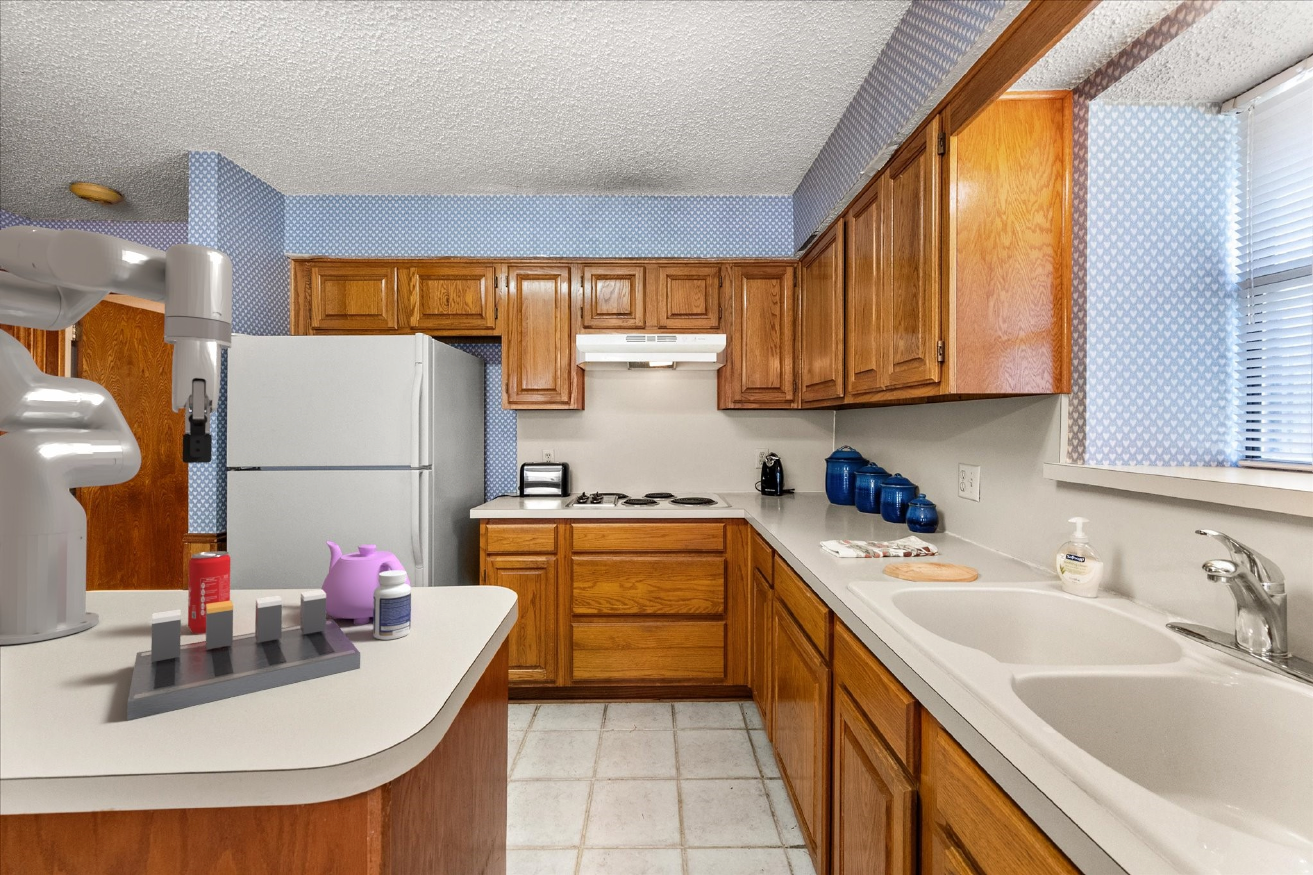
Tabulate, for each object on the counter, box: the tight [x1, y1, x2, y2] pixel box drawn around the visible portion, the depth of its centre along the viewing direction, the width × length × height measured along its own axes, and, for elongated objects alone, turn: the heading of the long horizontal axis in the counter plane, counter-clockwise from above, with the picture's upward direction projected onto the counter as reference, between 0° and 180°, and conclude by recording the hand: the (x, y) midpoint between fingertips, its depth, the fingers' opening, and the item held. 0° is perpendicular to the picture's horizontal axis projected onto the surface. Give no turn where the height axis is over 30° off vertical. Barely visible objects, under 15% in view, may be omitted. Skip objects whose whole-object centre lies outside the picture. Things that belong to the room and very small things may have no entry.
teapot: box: [320, 540, 412, 626], centre depth 100 cm, size 20×14×12 cm
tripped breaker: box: [205, 599, 234, 649], centre depth 78 cm, size 3×3×5 cm
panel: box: [126, 618, 361, 721], centre depth 76 cm, size 18×23×2 cm
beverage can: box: [187, 550, 232, 635], centre depth 91 cm, size 5×5×12 cm
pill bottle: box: [372, 570, 412, 641], centre depth 90 cm, size 5×5×10 cm
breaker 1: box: [150, 609, 182, 662], centre depth 74 cm, size 3×3×5 cm
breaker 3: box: [299, 589, 327, 634], centre depth 84 cm, size 3×3×5 cm
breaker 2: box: [254, 595, 283, 643], centre depth 81 cm, size 3×3×5 cm
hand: (197, 462), depth 82 cm, fingers closed
